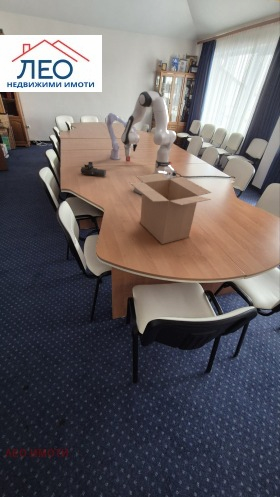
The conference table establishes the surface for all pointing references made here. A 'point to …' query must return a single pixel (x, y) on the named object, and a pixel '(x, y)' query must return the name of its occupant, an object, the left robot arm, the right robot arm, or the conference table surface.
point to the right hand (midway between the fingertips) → (127, 159)
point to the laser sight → (92, 170)
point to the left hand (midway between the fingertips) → (131, 151)
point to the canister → (128, 159)
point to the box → (168, 205)
